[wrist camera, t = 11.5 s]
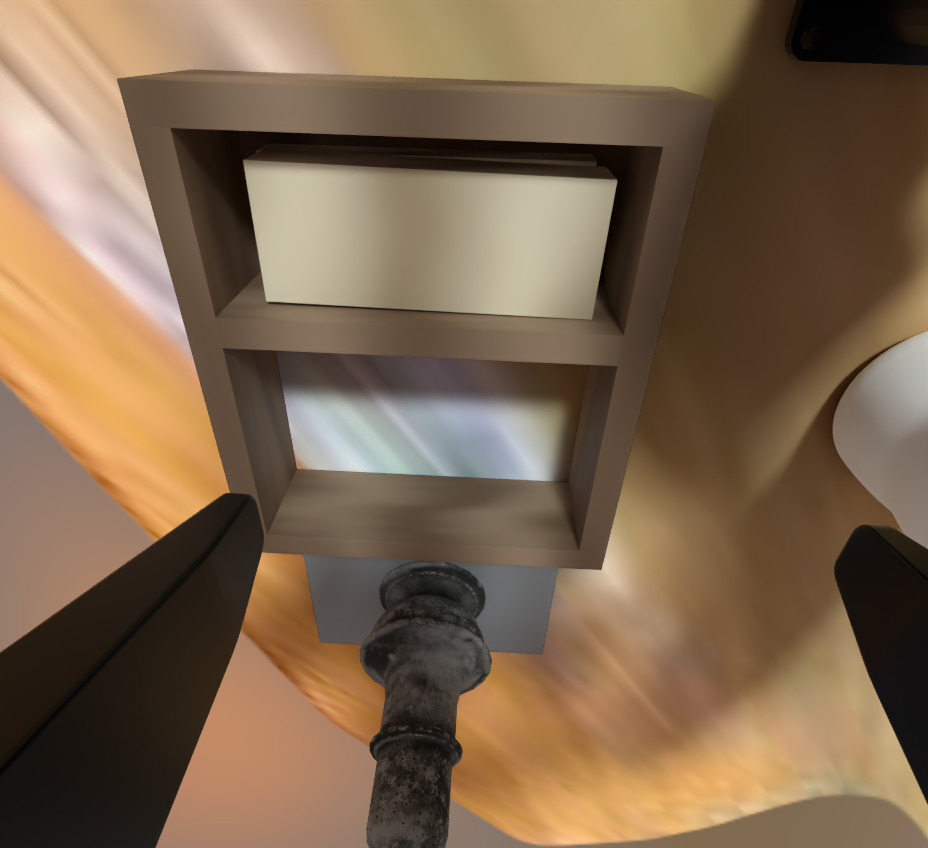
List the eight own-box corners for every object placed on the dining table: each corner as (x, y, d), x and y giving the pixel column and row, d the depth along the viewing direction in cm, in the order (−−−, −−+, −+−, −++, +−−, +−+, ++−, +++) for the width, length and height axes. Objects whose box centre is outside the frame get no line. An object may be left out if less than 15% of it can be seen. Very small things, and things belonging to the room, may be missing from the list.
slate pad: (560, 527, 26) (562, 543, 26) (540, 638, 31) (542, 654, 30) (304, 514, 27) (298, 529, 26) (324, 626, 32) (320, 642, 31)
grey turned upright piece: (505, 623, 29) (512, 926, 19) (399, 640, 30) (353, 934, 20) (471, 545, 26) (458, 859, 16) (354, 567, 27) (275, 873, 17)
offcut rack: (671, 87, 16) (716, 100, 13) (587, 500, 25) (601, 569, 22) (191, 69, 17) (117, 78, 13) (277, 485, 26) (246, 551, 22)
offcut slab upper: (606, 167, 17) (617, 180, 15) (584, 297, 19) (591, 319, 17) (265, 148, 17) (243, 160, 15) (284, 280, 19) (266, 301, 17)
